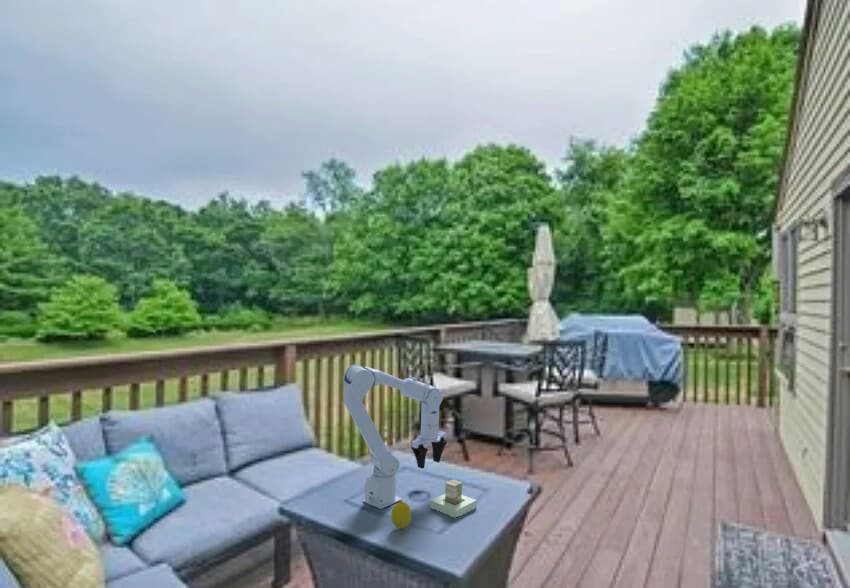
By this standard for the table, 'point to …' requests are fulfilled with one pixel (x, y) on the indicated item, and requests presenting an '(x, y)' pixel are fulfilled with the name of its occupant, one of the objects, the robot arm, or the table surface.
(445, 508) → the socket block
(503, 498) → the table surface
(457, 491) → the peg
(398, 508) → the lemon
